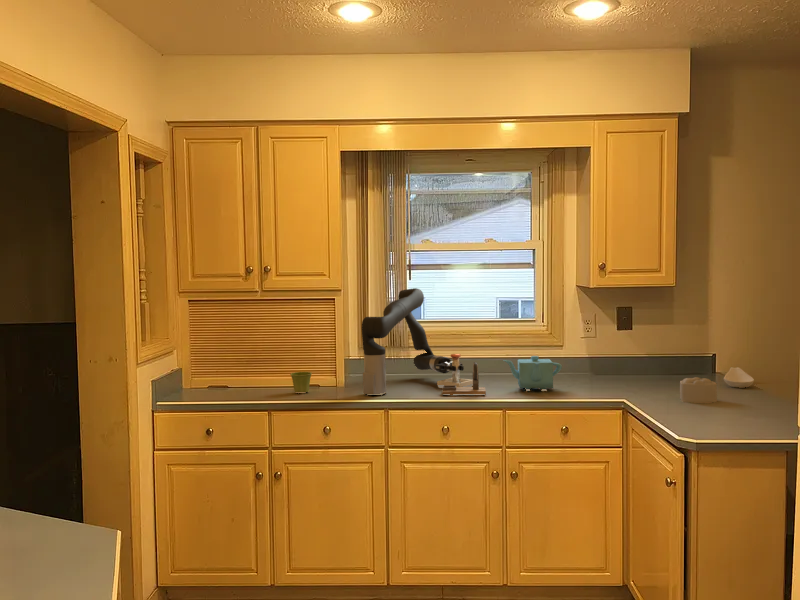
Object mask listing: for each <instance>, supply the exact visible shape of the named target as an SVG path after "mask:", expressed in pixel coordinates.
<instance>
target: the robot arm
mask: <svg viewBox="0 0 800 600" xmlns="http://www.w3.org/2000/svg"><path fill="white" fill-rule="evenodd" d="M424 299H425V296H424V292H423V291H422V290H421V289H420V288H417V287H416V288H407V289H402V290H400V291H399V292H398V298H397V299H396V300H393V301H391V302H390V303H389V304H387V305H386V306H385V307H384V309H383V312H382V315H383V316H364V317H363V319H362V321H361V338H362V349H363V367H364V369H363V371H364V372H362V392H363V393H364V394H380V393H384V392H386V393H387V371H386V370H387V367H386V365H387V364H386V348H385V346H383V345H380V344H378V343H377V342H376V341H375V339H384V338H386V337H387V336H388V335H389V334H390V332H391V331H392V330H393V329H394V328H395V326H397V325H398V324H399V323H400V322H401V321H402V320H404V319H405V322H406V324H407V327H408V329H409V334H410V336H411V340H412V344H413V348H414V349H415V350H416V351H424V350H425V351H426V352H427V353H424V352H423V354H422V353H420V355H419V354H417V355H415V356H416V357H414V358H413V361H414V362H413V364H415V365H414V367H415V366H416V367H417V368H416V367H415V368H416V369H418V370H421V371H424V370H425V371H426V370H432V371H435V372H437V373H441V374H447V373H449V372H450V371H451V372H452V371H456V366H452V359H450V357H448V356H447V357H446V356H442V355H436V354H434V352H433V351H432V349H431V347H430V345H429V342H428V339H427V333H426V331H425V329H424V327H423V326H422V325H421V323H420V322H419V320H417V319H416V317H415V316H414V314H413V313H412V312H413V311H415V310H416V309H419V308H420V307H421V306H422V305H423V303H424V301H425V300H424ZM464 367H465V366H464V365H463V363H462V362H461V361H459V371H461V372H462V371H463V372H464V369H465V368H464ZM363 393H362V394H363Z"/></svg>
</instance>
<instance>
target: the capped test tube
mask: <svg viewBox="0 0 800 600" xmlns="http://www.w3.org/2000/svg"><path fill="white" fill-rule="evenodd" d="M450 357H451V361H452V366H456V371H451V373H452V377H451V378H452V382H454V383H460V379H461V378H460V370H459V362H460V357H461V354H460V353H452V354H450Z"/></svg>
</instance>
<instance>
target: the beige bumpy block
mask: <svg viewBox="0 0 800 600" xmlns="http://www.w3.org/2000/svg"><path fill="white" fill-rule="evenodd" d="M679 381H680V382H679V400H680V399H681V400H680V402H681V401H683V402H682V403H687V402H694V403H693V404H713V403H712V402H714V403H717V402H718V397H717V396H718V395H717V394H718V388H717V387H718V386H717V385H718V384H717V382H715V381H714V380H713V381H711V379H709V378H705V377H702V378H701V377H698V376H695V377H685V378H683V379H682V380H679Z"/></svg>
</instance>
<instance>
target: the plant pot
mask: <svg viewBox="0 0 800 600" xmlns="http://www.w3.org/2000/svg"><path fill="white" fill-rule="evenodd" d="M312 374H313V373H312V372H311V371H299V372H298V371H297V372H291V373H290V377H291V379H292V385H293V391H295V392H308V391H310V382H311V377H312ZM295 392H294V393H295Z"/></svg>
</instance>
